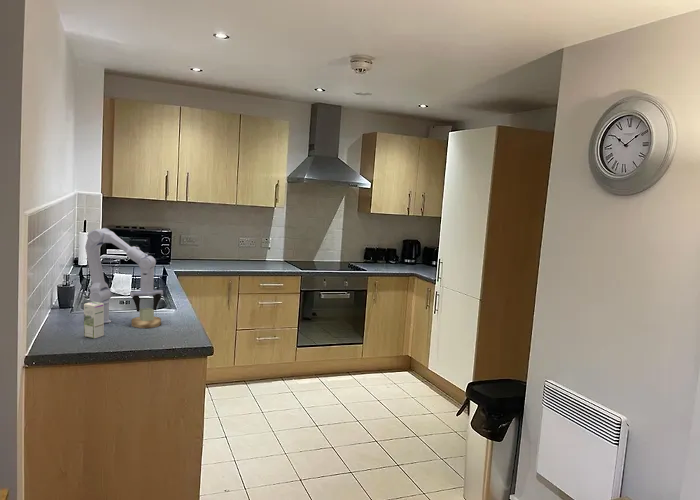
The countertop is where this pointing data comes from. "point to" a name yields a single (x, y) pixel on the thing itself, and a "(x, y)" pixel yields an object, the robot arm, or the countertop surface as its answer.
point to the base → (146, 323)
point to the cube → (146, 314)
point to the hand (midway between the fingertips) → (146, 310)
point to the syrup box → (93, 319)
